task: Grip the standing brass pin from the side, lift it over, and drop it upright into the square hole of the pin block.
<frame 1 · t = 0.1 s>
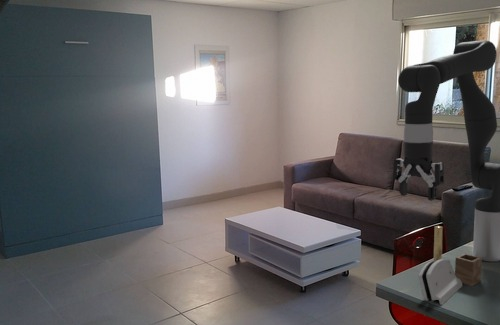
hand: (417, 197, 127), 29 cm above the table, tool pointing down, fingers open, 8 cm apart
pin: (437, 271, 148), on the table
pin block: (467, 280, 141), on the table
hinge: (439, 292, 134), on the table
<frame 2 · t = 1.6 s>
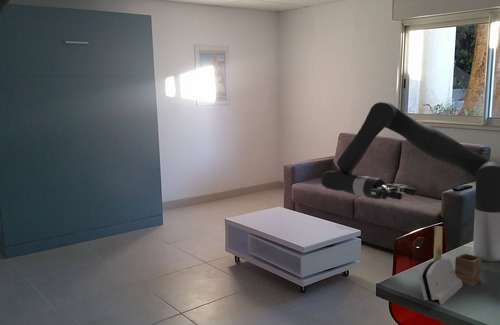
hand: (408, 194, 153), 24 cm above the table, tool horizontal, fingers open, 8 cm apart
nothing on the table moved.
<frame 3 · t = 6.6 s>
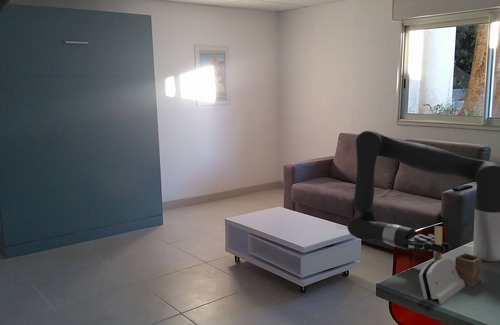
hand: (446, 248, 145), 8 cm above the table, tool horizontal, fingers closed on pin, 2 cm apart
pin: (437, 271, 148), on the table, touching gripper
everything else where it was.
when the fingers open (13 cm above the table, at t = 10.9 s): pin drops 2 cm, resting on pin block.
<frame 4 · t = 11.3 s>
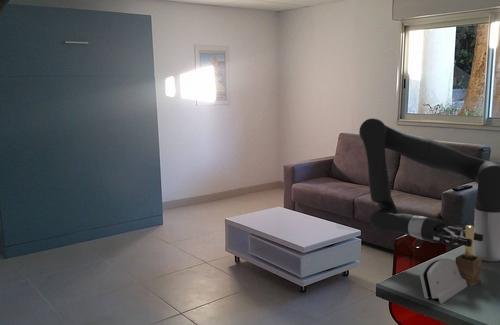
hand: (477, 240, 137), 14 cm above the table, tool horizontal, fingers open, 6 cm apart
pin: (467, 272, 140), point 3 cm above the table, touching pin block
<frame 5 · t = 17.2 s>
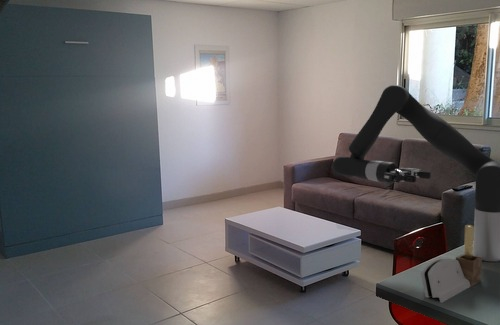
hand: (422, 177, 151), 30 cm above the table, tool horizontal, fingers open, 8 cm apart
at the end: pin 0.1 cm off-centre on the pin block, point 2.5 cm above the pin block's base; pin tilted 1°; the gripper is holding nothing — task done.
